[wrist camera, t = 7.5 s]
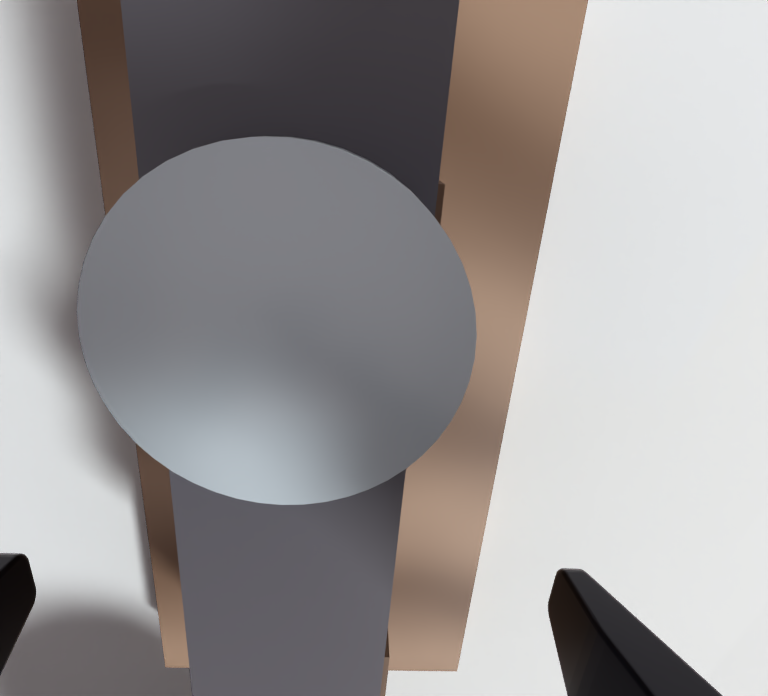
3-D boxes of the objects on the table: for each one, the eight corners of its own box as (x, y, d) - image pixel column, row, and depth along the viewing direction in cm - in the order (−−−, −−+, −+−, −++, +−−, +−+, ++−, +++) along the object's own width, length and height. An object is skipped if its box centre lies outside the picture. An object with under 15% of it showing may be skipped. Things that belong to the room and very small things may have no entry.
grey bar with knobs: (372, 710, 15) (377, 962, 11) (238, 709, 15) (183, 967, 10) (447, 14, 8) (553, -131, 4) (202, -10, 8) (-10, -199, 4)
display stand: (450, 632, 19) (477, 789, 15) (180, 627, 19) (120, 790, 14) (561, 13, 12) (694, -67, 7) (106, -34, 11) (-82, -155, 6)
